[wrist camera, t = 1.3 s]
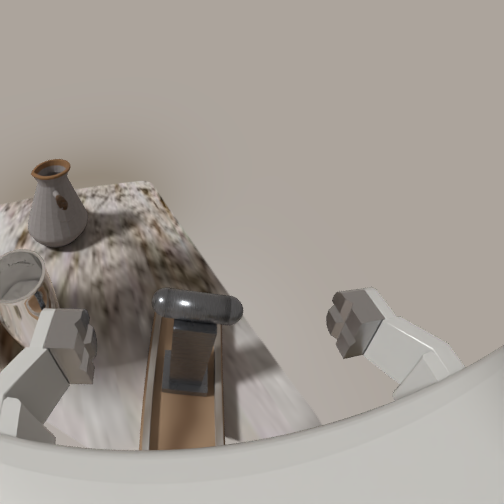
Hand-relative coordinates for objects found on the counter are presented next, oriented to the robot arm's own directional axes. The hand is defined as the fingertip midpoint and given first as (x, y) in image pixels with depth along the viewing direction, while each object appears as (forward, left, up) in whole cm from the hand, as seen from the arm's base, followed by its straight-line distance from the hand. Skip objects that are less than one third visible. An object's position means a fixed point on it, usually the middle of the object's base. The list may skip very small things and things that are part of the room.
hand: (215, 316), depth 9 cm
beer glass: (-17, +9, -27) cm, 33 cm away
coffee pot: (-22, +28, -27) cm, 45 cm away
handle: (0, +13, -25) cm, 28 cm away
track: (0, +6, -26) cm, 27 cm away
